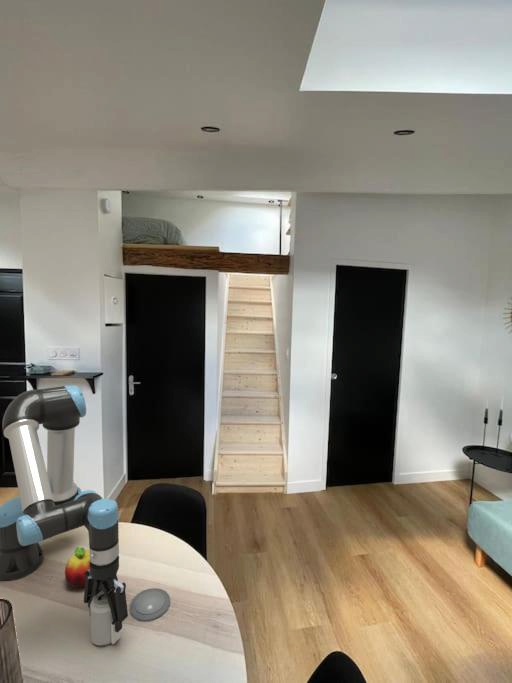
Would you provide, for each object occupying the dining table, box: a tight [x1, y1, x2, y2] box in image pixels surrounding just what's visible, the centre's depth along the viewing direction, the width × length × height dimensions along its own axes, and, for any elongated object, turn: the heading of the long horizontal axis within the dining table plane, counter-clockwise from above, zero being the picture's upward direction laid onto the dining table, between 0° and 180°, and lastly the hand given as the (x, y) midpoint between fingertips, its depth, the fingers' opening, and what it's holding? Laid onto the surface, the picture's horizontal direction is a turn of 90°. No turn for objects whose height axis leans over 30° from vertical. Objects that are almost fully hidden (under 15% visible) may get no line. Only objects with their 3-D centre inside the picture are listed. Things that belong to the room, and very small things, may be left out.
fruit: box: [64, 546, 90, 588], centre depth 126 cm, size 11×11×10 cm
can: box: [89, 591, 113, 647], centre depth 105 cm, size 8×8×12 cm
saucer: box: [129, 587, 171, 622], centre depth 117 cm, size 12×12×1 cm
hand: (105, 633), depth 106 cm, fingers closed on can, 7 cm apart
